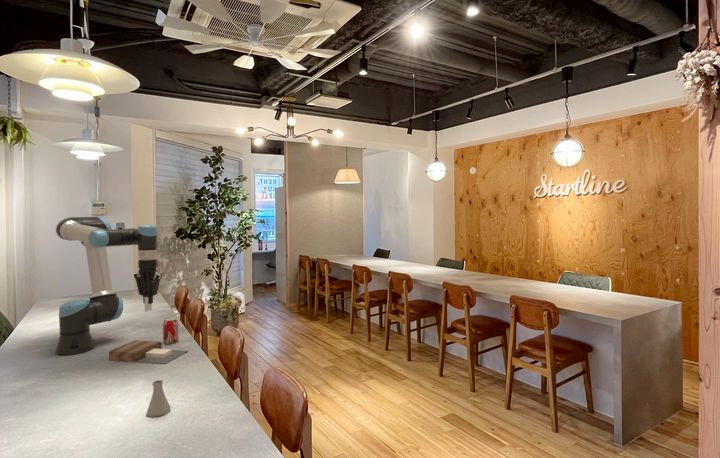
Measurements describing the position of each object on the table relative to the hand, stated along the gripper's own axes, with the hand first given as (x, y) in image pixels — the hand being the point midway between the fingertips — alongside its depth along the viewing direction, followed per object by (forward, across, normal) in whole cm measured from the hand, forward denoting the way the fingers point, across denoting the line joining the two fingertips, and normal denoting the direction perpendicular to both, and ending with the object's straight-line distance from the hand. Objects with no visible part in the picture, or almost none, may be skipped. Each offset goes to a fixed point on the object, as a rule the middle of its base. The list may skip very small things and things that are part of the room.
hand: (148, 310), depth 182 cm
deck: (+21, -6, 0) cm, 22 cm away
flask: (+20, +40, -47) cm, 65 cm away
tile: (+20, +6, 0) cm, 21 cm away
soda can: (+21, -2, +19) cm, 28 cm away
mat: (+21, +8, 0) cm, 22 cm away
